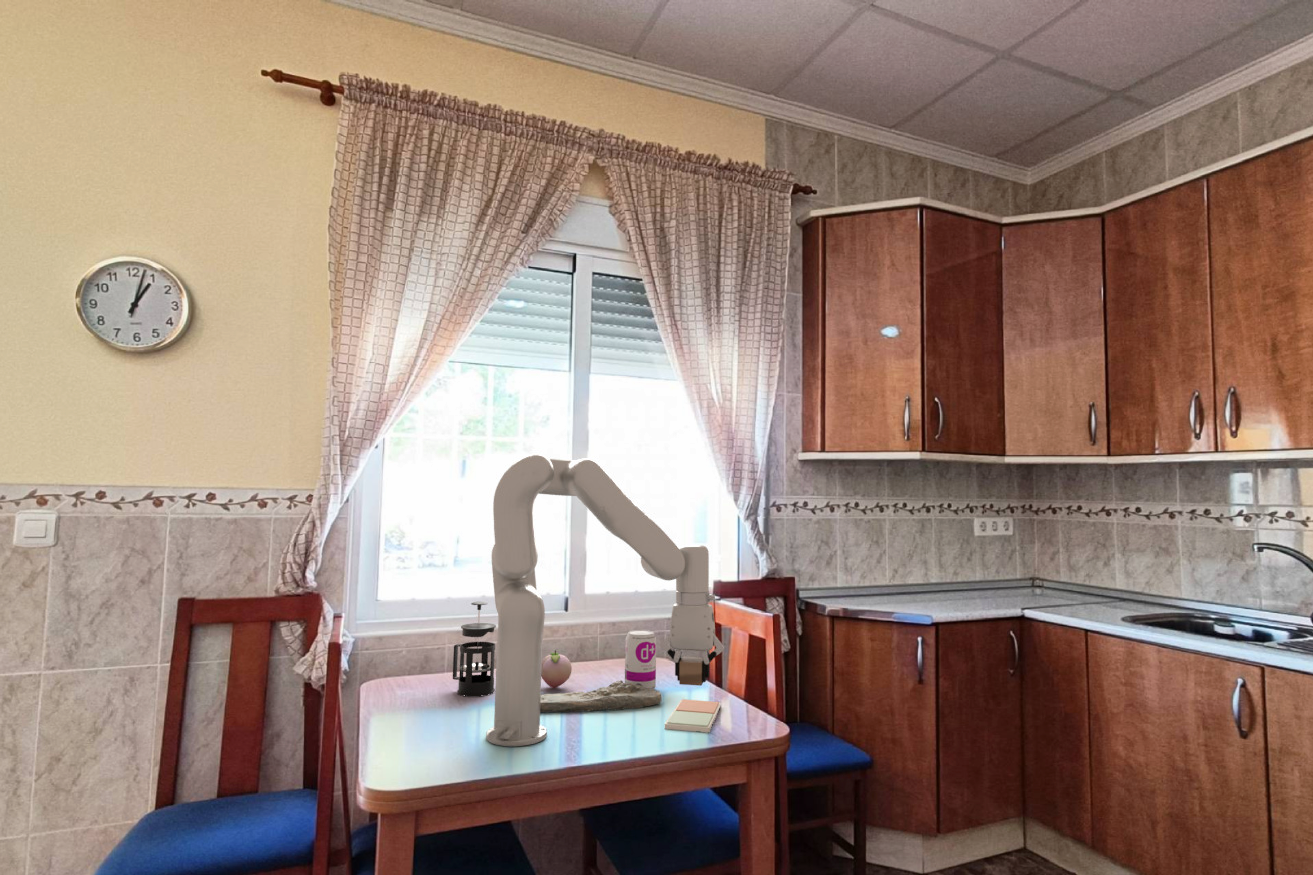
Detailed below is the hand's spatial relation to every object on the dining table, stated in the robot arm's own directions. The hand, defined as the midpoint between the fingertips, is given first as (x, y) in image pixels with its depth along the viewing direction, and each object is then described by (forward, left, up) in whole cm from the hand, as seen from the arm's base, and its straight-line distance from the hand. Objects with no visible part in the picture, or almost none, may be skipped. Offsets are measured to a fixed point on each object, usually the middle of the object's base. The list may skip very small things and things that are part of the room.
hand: (692, 679), depth 162 cm
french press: (+11, +59, -10) cm, 61 cm away
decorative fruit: (+20, +40, -10) cm, 46 cm away
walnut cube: (0, 0, -1) cm, 1 cm away
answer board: (+5, 0, -10) cm, 11 cm away
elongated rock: (+7, +26, -11) cm, 29 cm away
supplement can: (+25, +18, -10) cm, 32 cm away
